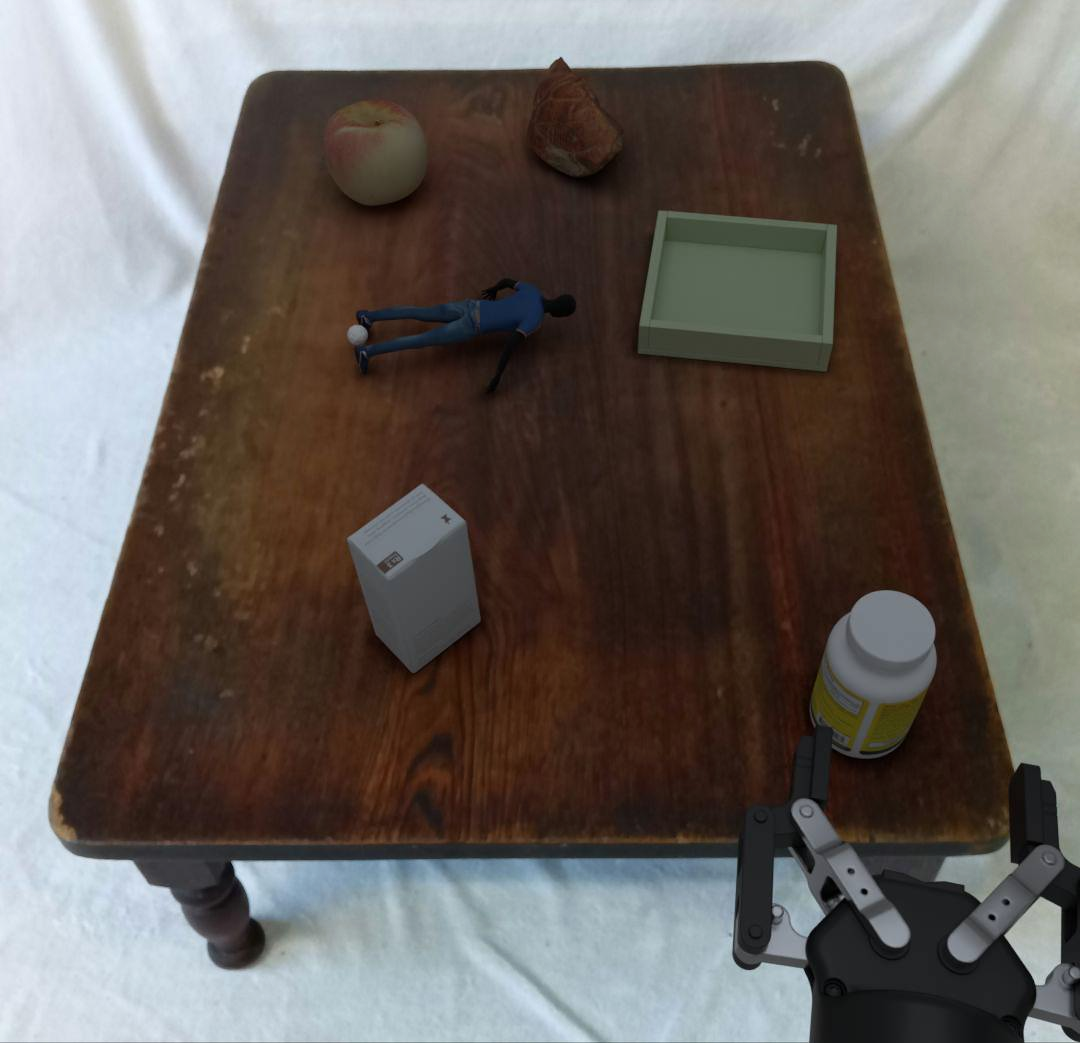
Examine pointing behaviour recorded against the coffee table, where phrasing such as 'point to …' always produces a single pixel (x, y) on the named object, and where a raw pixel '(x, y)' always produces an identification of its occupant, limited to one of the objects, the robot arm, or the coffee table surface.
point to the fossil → (571, 124)
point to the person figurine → (465, 322)
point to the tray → (740, 291)
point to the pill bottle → (875, 674)
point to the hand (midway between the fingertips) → (920, 752)
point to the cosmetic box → (417, 576)
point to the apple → (375, 151)
